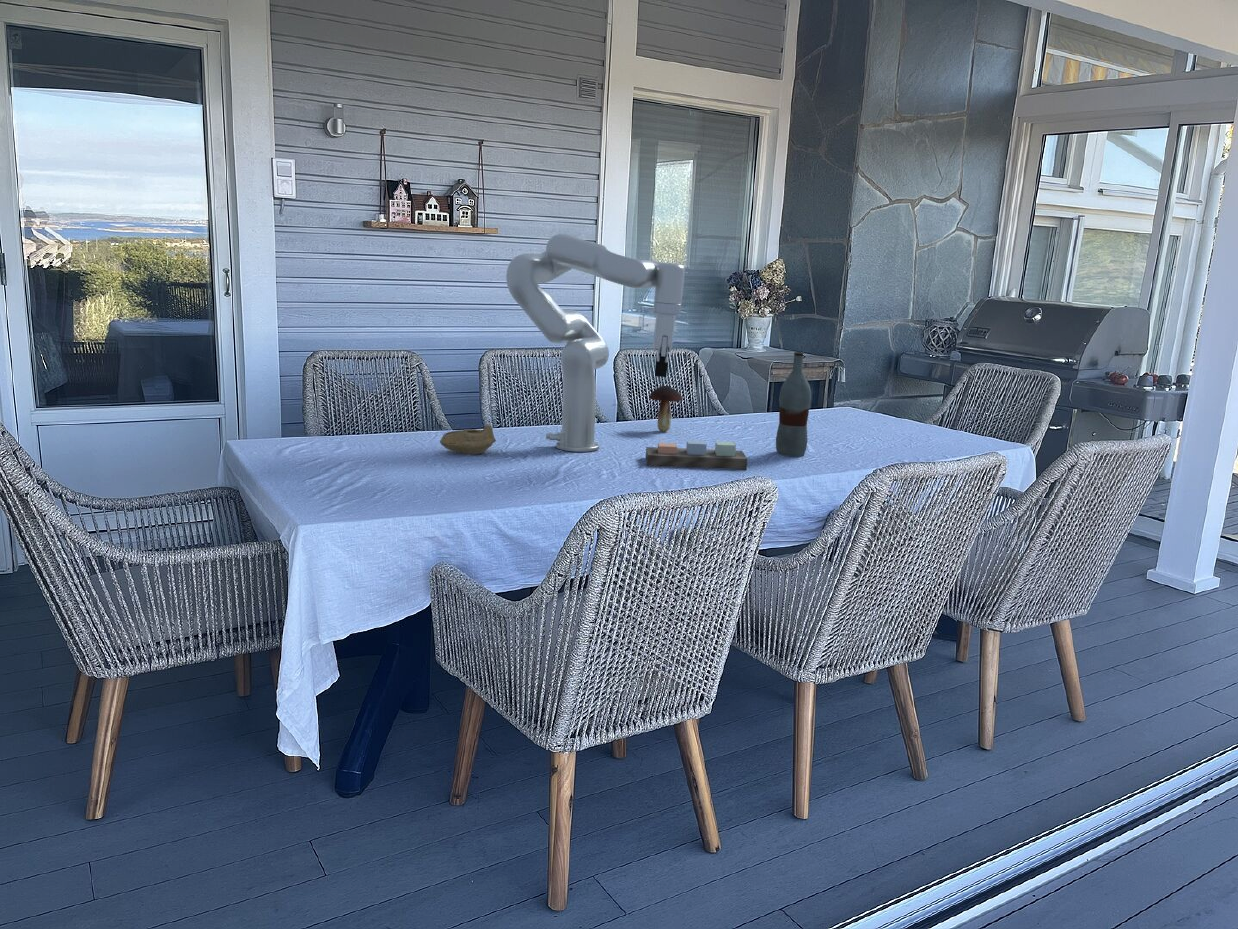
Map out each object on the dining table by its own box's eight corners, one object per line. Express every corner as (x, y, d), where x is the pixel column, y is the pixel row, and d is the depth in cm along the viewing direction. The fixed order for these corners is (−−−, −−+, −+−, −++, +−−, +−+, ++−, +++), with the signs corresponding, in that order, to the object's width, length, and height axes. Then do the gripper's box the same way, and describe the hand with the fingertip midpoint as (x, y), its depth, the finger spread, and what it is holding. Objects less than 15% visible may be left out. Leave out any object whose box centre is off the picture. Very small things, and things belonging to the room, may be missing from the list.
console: (647, 465, 261) (647, 455, 261) (645, 457, 272) (646, 446, 272) (746, 469, 262) (747, 458, 261) (741, 461, 273) (742, 450, 272)
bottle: (768, 452, 286) (776, 351, 280) (785, 449, 293) (793, 350, 286) (795, 458, 280) (804, 354, 273) (812, 454, 287) (821, 353, 280)
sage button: (716, 460, 264) (717, 444, 264) (714, 457, 269) (715, 441, 268) (734, 461, 265) (735, 445, 264) (732, 457, 269) (733, 441, 268)
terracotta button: (658, 462, 264) (658, 446, 263) (657, 458, 269) (657, 442, 268) (676, 463, 264) (677, 446, 264) (674, 459, 269) (675, 443, 268)
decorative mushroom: (648, 427, 319) (651, 382, 316) (682, 429, 317) (684, 384, 314) (645, 433, 308) (647, 386, 305) (679, 435, 307) (682, 388, 304)
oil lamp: (434, 451, 268) (434, 423, 266) (484, 447, 276) (484, 420, 275) (450, 459, 259) (450, 430, 257) (501, 455, 267) (501, 426, 266)
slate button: (687, 459, 264) (688, 443, 263) (685, 455, 269) (686, 440, 268) (705, 460, 264) (706, 444, 263) (703, 456, 269) (704, 440, 268)
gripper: (652, 306, 270) (646, 371, 274) (653, 310, 255) (647, 379, 260) (679, 308, 270) (673, 373, 274) (682, 312, 256) (675, 381, 260)
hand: (660, 376), depth 267 cm, fingers closed
